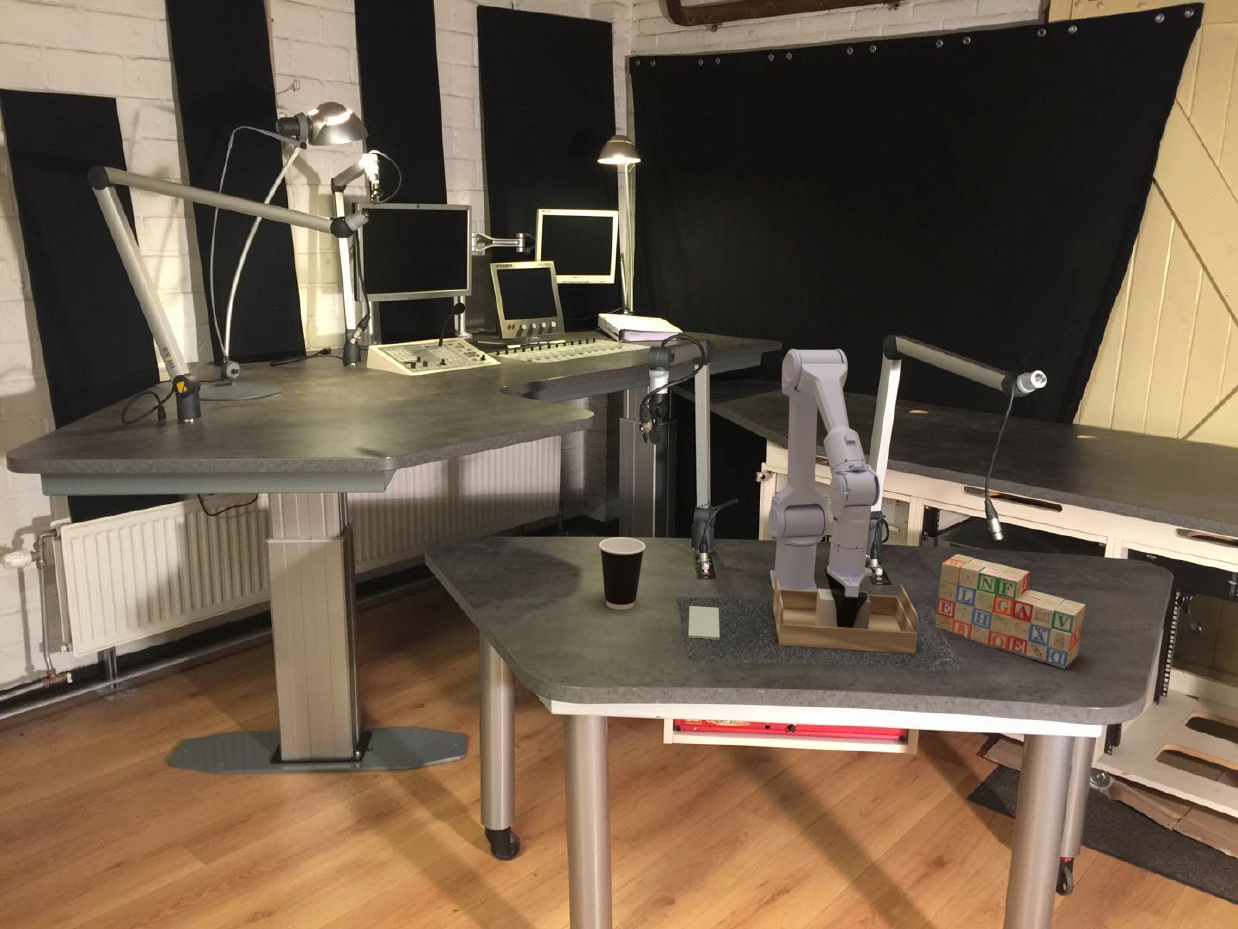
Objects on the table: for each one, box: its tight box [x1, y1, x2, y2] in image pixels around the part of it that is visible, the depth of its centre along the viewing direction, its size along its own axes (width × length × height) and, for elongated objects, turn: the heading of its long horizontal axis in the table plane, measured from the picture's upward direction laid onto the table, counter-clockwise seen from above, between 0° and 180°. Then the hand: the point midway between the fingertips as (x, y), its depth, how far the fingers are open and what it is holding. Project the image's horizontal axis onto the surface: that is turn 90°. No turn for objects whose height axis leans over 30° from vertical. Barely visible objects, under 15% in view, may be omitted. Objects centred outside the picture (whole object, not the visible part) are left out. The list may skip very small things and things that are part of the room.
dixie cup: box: [598, 536, 646, 611], centre depth 171 cm, size 8×8×11 cm
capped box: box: [815, 588, 871, 629], centre depth 163 cm, size 4×8×6 cm, turn 85°
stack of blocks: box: [934, 553, 1087, 666], centre depth 161 cm, size 21×6×12 cm, turn 49°
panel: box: [687, 605, 721, 641], centre depth 166 cm, size 12×12×1 cm
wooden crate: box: [772, 576, 919, 655], centre depth 164 cm, size 15×21×6 cm
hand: (841, 621), depth 164 cm, fingers open, 7 cm apart
